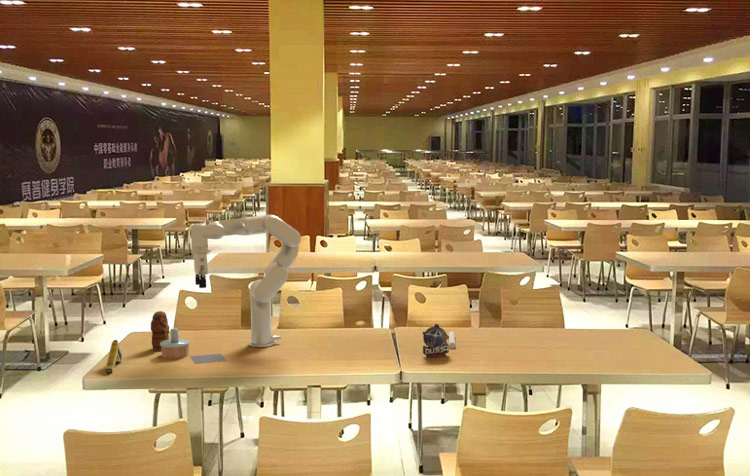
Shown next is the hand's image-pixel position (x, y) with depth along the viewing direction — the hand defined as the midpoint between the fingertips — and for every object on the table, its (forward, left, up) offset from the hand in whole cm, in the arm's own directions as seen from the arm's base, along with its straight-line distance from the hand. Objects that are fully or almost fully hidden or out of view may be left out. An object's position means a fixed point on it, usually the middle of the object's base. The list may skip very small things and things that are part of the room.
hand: (200, 286), depth 390 cm
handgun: (+42, +18, -31) cm, 55 cm away
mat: (+1, +20, -30) cm, 36 cm away
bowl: (+14, +8, -30) cm, 34 cm away
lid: (+14, +8, -25) cm, 30 cm away
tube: (-115, +33, -31) cm, 124 cm away
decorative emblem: (-96, +55, -31) cm, 115 cm away
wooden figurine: (+18, -9, -31) cm, 37 cm away
